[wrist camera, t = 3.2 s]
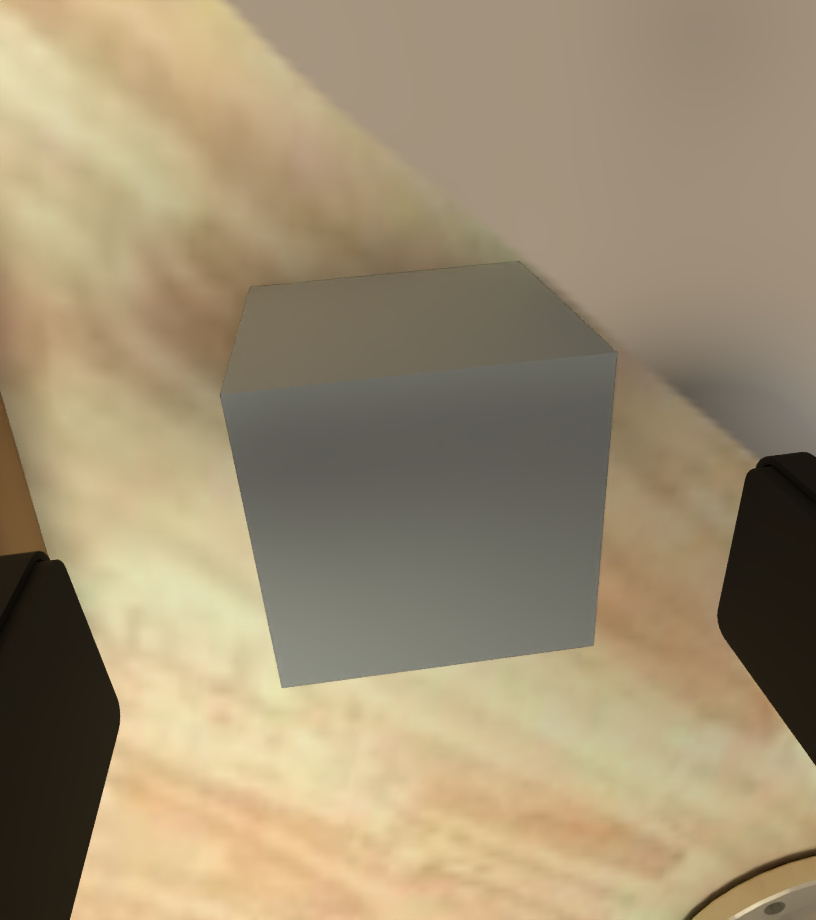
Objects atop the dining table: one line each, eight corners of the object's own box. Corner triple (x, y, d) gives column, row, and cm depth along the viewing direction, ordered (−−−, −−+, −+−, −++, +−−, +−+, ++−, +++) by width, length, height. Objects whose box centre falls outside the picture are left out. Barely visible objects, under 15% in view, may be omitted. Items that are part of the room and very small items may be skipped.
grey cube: (518, 259, 16) (617, 351, 11) (516, 487, 19) (593, 645, 14) (250, 285, 16) (220, 394, 10) (289, 514, 19) (281, 688, 13)
